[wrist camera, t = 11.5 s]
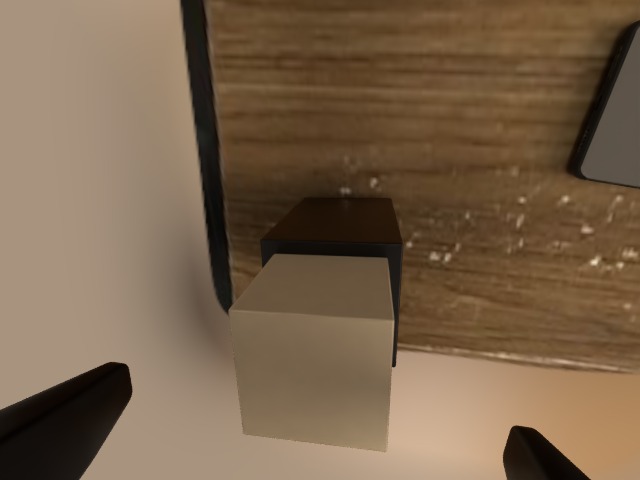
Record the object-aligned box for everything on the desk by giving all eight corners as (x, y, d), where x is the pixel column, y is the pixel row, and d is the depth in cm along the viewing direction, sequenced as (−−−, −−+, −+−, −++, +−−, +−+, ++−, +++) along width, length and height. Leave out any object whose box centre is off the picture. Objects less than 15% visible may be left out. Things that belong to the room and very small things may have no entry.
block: (280, 347, 13) (242, 435, 9) (274, 253, 12) (227, 309, 8) (382, 356, 12) (387, 453, 9) (387, 257, 11) (394, 320, 7)
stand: (307, 275, 21) (269, 357, 13) (304, 197, 19) (259, 239, 12) (387, 279, 20) (395, 368, 12) (391, 198, 18) (403, 243, 11)
